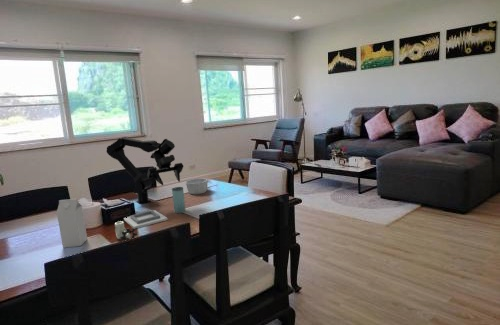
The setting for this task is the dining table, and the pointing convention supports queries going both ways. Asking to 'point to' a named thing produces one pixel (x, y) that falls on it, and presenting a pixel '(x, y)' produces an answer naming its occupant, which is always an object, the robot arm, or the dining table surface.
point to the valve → (123, 231)
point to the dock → (145, 219)
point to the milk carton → (71, 223)
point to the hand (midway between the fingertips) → (171, 183)
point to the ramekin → (197, 186)
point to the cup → (178, 199)
